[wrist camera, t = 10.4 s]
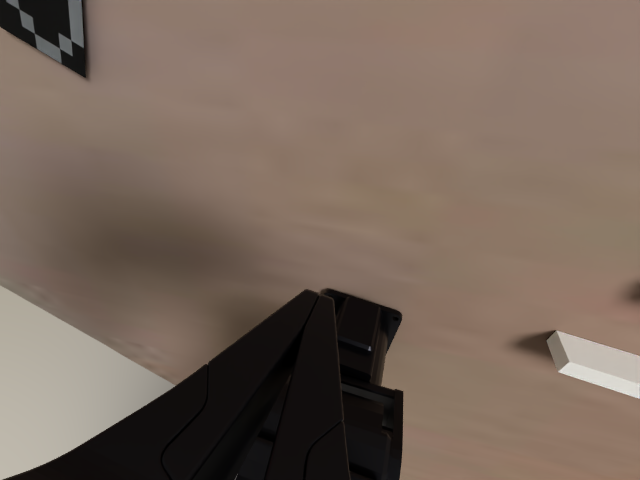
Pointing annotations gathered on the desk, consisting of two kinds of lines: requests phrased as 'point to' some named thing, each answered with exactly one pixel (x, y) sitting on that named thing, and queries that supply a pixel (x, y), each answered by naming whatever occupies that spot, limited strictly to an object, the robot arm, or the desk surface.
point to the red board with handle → (48, 28)
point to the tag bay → (596, 363)
